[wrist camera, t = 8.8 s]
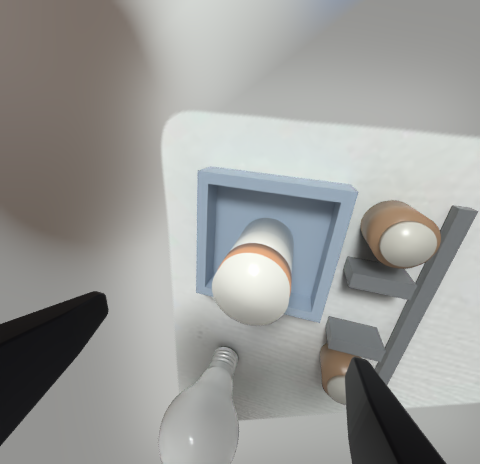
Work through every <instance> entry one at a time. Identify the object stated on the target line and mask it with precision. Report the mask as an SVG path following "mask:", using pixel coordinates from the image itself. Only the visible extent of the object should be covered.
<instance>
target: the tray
mask: <svg viewBox="0 0 480 464" xmlns="http://www.w3.org/2000/svg"><path fill="white" fill-rule="evenodd" d="M357 195H358V191H357V190H356V189H355V188H354V187H353V186H352V185H350V184H342V183H334V182H326V181H319V180H311V179H303V178H295V177H287V176H280V175H272V174H264V173H256V172H248V171H241V170H233V169H225V168H217V167H208V168H205V169H202V170H199V171H198V189H197V274H196V293H200V294H204V295H208V296H212V297H213V293H212V281H213V278H214V276H215V274H216V272H217V270H218V268H219V266H220V264H221V263H222V261H223V260H224V258H225V257H226V255H227V254H228V253H229V252H230V250H231V249H232V247H233V246H234V244H235V243H236V241H237V240H238V238H239V237H240V235H241V233H242V232H243V230H244V229H245V227H246V226H247V225H248V224H249V223H250V222H252V221H254V220H256V219H259V218H272V219H276V220H278V221H280V222H282V223H283V224H285V225H286V226H287V227H288V228H289V230H290V231H291V233H292V235H293V238H294V252H293V263H292V283H291V293H290V298H289V304H288V307H287V310H286V311H285V313H284V314H286V315H290V316H294V317H298V318H302V319H306V320H310V321H314V322H318V323H320V320H321V317H322V314H323V310H324V307H325V304H326V300H327V297H328V293H329V290H330V287H331V283H332V280H333V276H334V273H335V270H336V266H337V263H338V260H339V256H340V253H341V249H342V246H343V243H344V239H345V236H346V232H347V229H348V226H349V222H350V219H351V216H352V212H353V209H354V205H355V202H356V199H357Z"/></svg>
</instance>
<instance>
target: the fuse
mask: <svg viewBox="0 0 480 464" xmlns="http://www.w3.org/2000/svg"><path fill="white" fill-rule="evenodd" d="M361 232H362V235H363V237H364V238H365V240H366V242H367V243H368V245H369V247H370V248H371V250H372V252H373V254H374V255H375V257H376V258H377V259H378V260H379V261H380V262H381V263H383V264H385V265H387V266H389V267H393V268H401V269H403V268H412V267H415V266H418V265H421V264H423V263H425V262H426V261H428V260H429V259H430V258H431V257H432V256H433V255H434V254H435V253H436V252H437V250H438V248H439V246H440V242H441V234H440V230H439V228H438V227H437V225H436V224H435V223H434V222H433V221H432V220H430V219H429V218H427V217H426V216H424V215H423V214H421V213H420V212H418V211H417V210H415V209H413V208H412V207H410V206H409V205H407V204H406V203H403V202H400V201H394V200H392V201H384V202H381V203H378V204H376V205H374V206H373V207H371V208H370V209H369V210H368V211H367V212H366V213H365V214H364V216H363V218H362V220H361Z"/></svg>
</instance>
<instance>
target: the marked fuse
mask: <svg viewBox="0 0 480 464" xmlns="http://www.w3.org/2000/svg"><path fill="white" fill-rule="evenodd" d="M293 252H294V238H293V235H292V233H291V231H290V230H289V228H288V227H287V226H286V225H285V224H283V223H282V222H280V221H278V220H276V219H272V218H259V219H256V220H254V221H252V222H250V223H249V224H248V225H247V226H246V227H245V229H244V230H243V232H242V233H241V235H240V237H239V238H238V240H237V241H236V243H235V244H234V246H233V247H232V249H231V250H230V252H229V253H228V254H227V255H226V257H225V258H224V260H223V261H222V263H221V264H220V266H219V268H218V270H217V272H216V274H215V276H214V278H213V281H212V293H213V297H214V299H215V301H216V303H217V305H218V306H219V308H220V309H221V310H222V311H223V312H224V313H225V314H226V315H228V316H229V317H230V318H232V319H234V320H236V321H238V322H240V323H243V324H247V325H253V326H261V325H267V324H270V323H273V322H275V321H277V320H278V319H279V318H280V317H281V316H283V314H284V313H285V311H286V310H287V307H288V304H289V298H290V293H291V283H292V263H293Z"/></svg>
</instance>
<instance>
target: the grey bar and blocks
mask: <svg viewBox="0 0 480 464" xmlns="http://www.w3.org/2000/svg"><path fill="white" fill-rule="evenodd" d="M477 213H478V211H476V210H474V209H472V208H468V207H461V206H452V208H451V210H450V212H449V214H448V216H447V218H446V220H445V223H444V225H443V227H442V229H441V231H440V234H441V242H440V246H439V248H438V250H437V252H436V253H435V254H434V255H433V256H432V257H431V258H430V259H429V260H428V261H426V263H425V265H424V267H423V269H422V271H421V273H420V275H419V278H418V280H417V282H416V284H415V282H414V281H413V280H412V278H411V277H410V276H409V274H408V273H407V272H406V270H405V269H404V268H403V269H401V268H393V267H389V266H387V265H385V264H383V263H379V262H374V261H368V260H363V259H358V258H352V257H347V260H346V263H345V266H344V269H343V270H344V273H345V276H346V280H347V283H348V286H349V287H350V288H355V289H360V290H364V291H369V292H374V293H379V294H383V295H388V296H393V297H398V298H402V299H407V300H408V301H407V303H406V305H405V307H404V309H403V311H402V313H401V316H400V318H399V320H398V322H397V324H396V326H395V328H394V330H393V333H392V335H391V337H390V339H389V341H388V343H387V345H386V347H385V348H384V346H383V343H382V340H381V338H380V335H379V332H378V330H377V328H376V327H372V326H368V325H364V324H359V323H355V322H351V321H347V320H342V319H338V318H334V317H330V316H329V317H328V321H327V324H326V333H327V342H328V348H329V349H332V350H336V351H340V352H344V353H348V354H351V355H355V356H359V357H363V358H367V359H370V360H374V361H378V364H377V366H376V368H375V371H376V372H377V373H378V374H379V376H380V377H381V378H382V380H383V381H384V382H385V384H386V385H387V384H388V382H389V381H390V379H391V377H392V375H393V373H394V371H395V369H396V367H397V365H398V363H399V361H400V360H401V358H402V356H403V354H404V352H405V350H406V348H407V346H408V344H409V342H410V340H411V339H412V337H413V335H414V333H415V331H416V329H417V327H418V325H419V323H420V321H421V320H422V318H423V316H424V314H425V312H426V310H427V308H428V306H429V304H430V302H431V300H432V299H433V297H434V295H435V293H436V291H437V289H438V287H439V285H440V283H441V281H442V279H443V278H444V276H445V274H446V272H447V270H448V268H449V266H450V264H451V262H452V260H453V259H454V257H455V255H456V253H457V251H458V249H459V247H460V245H461V243H462V241H463V239H464V238H465V236H466V234H467V232H468V230H469V228H470V226H471V224H472V222H473V220H474V219H475V217H476V215H477Z"/></svg>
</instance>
